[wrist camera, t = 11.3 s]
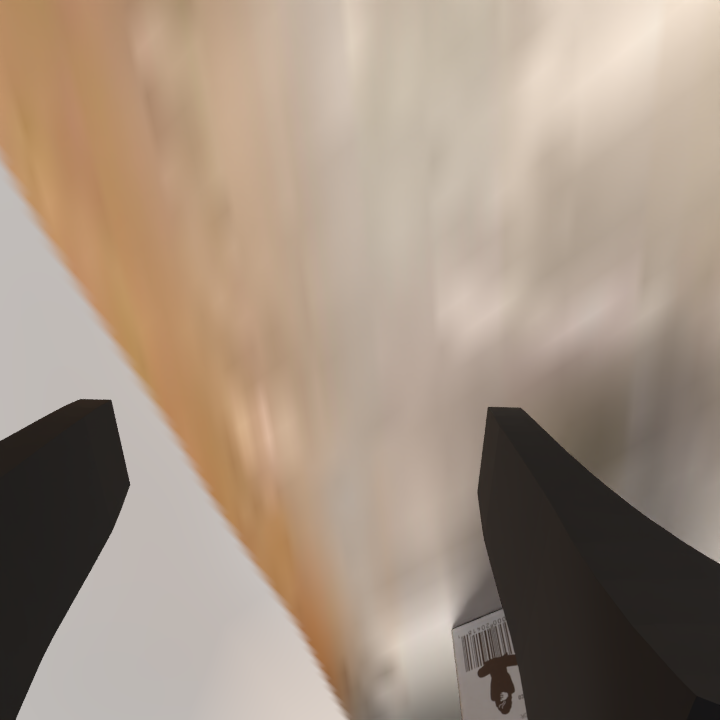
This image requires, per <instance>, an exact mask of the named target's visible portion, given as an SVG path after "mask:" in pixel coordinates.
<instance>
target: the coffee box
mask: <svg viewBox="0 0 720 720" xmlns="http://www.w3.org/2000/svg"><path fill="white" fill-rule="evenodd" d="M452 638H453V647H454V656H455V663H456V672H457V680H458V688H459V697H460V706H461V715H462V720H528V719H527V713H526V707H525V701H524V696H523V690H522V684H521V678H520V673H519V669H518V664H517V660H516V656H515V651H514V647H513V644H512V640H511V636H510V633H509V629H508V625H507V622H506V618H505V615H504V611H503V609H501V610H498V611H496V612H494V613H491V614H489V615H486V616H484V617H481V618H479V619H477V620H474V621H472V622H469V623H467V624H464V625H462V626H459V627H457V628H454V629H453V630H452Z"/></svg>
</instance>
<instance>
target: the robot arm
mask: <svg viewBox="0 0 720 720" xmlns="http://www.w3.org/2000/svg"><path fill="white" fill-rule="evenodd" d="M129 486H130V482H129V477H128V473H127V468H126V464H125V459H124V455H123V450H122V446H121V442H120V437H119V432H118V428H117V424H116V419H115V414H114V410H113V405H112V401H111V400H93V399H80V400H77V401H75V402H73V403H70V404H68V405H66V406H64V407H62V408H60V409H58V410H56V411H54V412H52V413H50V414H49V415H47V416H45V417H43V418H41V419H39V420H38V421H36V422H34V423H32V424H30V425H29V426H27V427H25V428H23V429H21V430H20V431H18V432H16V433H14V434H12V435H11V436H9V437H7V438H5V439H4V440H1V441H0V720H16V717H17V715H18V713H19V710H20V708H21V706H22V703H23V701H24V699H25V697H26V694H27V692H28V690H29V687H30V685H31V683H32V681H33V678H34V676H35V674H36V671H37V669H38V667H39V665H40V662H41V660H42V658H43V656H44V654H45V652H46V650H47V648H48V646H49V644H50V642H51V640H52V638H53V636H54V635H55V633H56V631H57V629H58V627H59V626H60V624H61V622H62V620H63V618H64V617H65V615H66V613H67V611H68V610H69V608H70V606H71V604H72V603H73V601H74V599H75V597H76V596H77V594H78V592H79V590H80V588H81V587H82V585H83V583H84V581H85V580H86V578H87V576H88V574H89V572H90V571H91V569H92V567H93V565H94V563H95V562H96V560H97V558H98V556H99V554H100V552H101V551H102V549H103V547H104V545H105V543H106V542H107V540H108V538H109V536H110V534H111V532H112V530H113V528H114V526H115V523H116V521H117V518H118V516H119V513H120V511H121V508H122V505H123V503H124V500H125V497H126V495H127V492H128V489H129ZM478 500H479V508H480V515H481V522H482V529H483V536H484V541H485V545H486V549H487V553H488V556H489V560H490V564H491V567H492V571H493V575H494V578H495V582H496V586H497V589H498V593H499V597H500V600H501V604H502V607H503V611H504V615H505V618H506V622H507V625H508V629H509V633H510V636H511V640H512V644H513V647H514V651H515V656H516V660H517V664H518V669H519V673H520V678H521V684H522V690H523V696H524V701H525V707H526V713H527V719H528V720H720V564H719V563H717V562H715V561H714V560H712V559H710V558H709V557H707V556H705V555H704V554H702V553H700V552H699V551H697V550H696V549H694V548H692V547H691V546H689V545H687V544H686V543H684V542H683V541H681V540H680V539H678V538H677V537H675V536H674V535H672V534H671V533H669V532H668V531H667V530H665V529H664V528H662V527H661V526H659V525H658V524H656V523H655V522H653V521H652V520H650V519H649V518H647V517H646V516H645V515H643V514H642V513H641V512H639V511H638V510H637V509H635V508H634V507H632V506H631V505H630V504H629V503H627V502H626V501H625V500H624V499H622V498H621V497H620V496H618V495H617V494H616V493H615V492H613V491H612V490H611V489H610V488H608V487H607V486H606V485H605V484H603V483H602V482H601V481H600V480H599V479H597V478H596V477H595V476H594V475H593V474H592V473H590V472H589V471H588V470H587V469H586V468H585V467H584V466H582V465H581V464H580V463H579V462H578V461H577V460H576V459H575V458H573V457H572V456H571V455H570V454H569V453H568V452H567V451H566V450H565V449H564V448H563V447H562V446H560V445H559V444H558V443H557V442H556V441H555V440H554V439H553V438H552V437H551V436H550V435H549V434H548V433H547V432H546V431H545V430H544V429H543V428H542V427H541V426H540V425H538V424H537V423H536V422H535V421H534V420H533V419H532V418H531V417H530V416H529V415H528V414H527V413H526V412H525V411H524V410H523V409H521V408H509V407H488V411H487V419H486V427H485V435H484V443H483V452H482V460H481V468H480V476H479V484H478Z"/></svg>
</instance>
